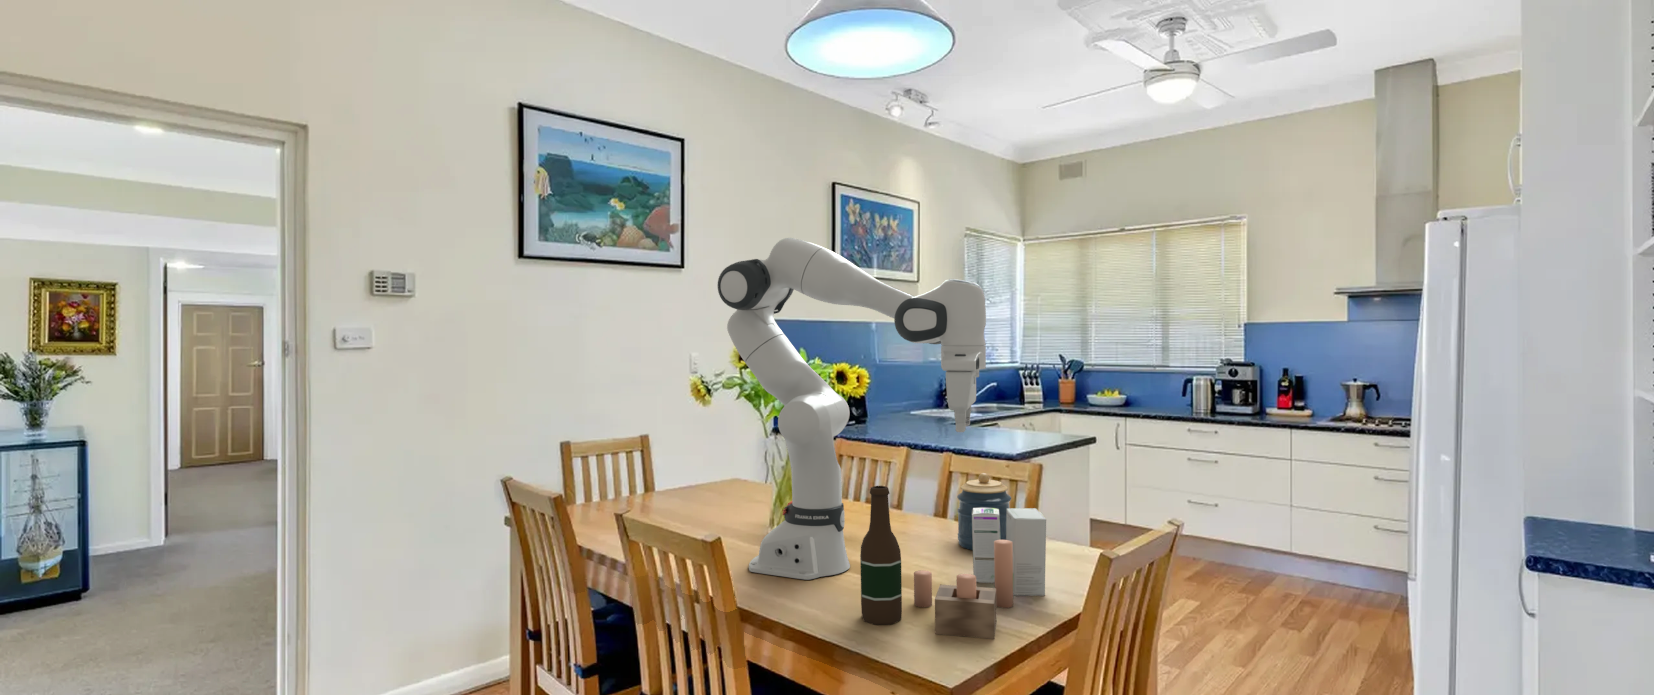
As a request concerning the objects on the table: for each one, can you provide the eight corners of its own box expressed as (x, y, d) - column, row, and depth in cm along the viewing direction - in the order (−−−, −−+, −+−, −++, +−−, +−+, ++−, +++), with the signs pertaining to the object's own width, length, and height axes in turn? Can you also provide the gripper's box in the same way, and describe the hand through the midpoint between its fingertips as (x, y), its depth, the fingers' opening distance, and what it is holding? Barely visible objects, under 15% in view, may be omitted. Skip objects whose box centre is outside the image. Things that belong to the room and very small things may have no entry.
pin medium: (956, 630, 133) (955, 579, 132) (958, 623, 136) (957, 573, 136) (976, 632, 132) (975, 580, 132) (977, 624, 135) (976, 574, 135)
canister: (978, 535, 195) (978, 466, 195) (1022, 545, 186) (1021, 472, 185) (946, 545, 186) (946, 473, 186) (991, 556, 177) (990, 480, 176)
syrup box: (1001, 583, 157) (1000, 513, 157) (972, 582, 158) (971, 512, 158) (1001, 575, 163) (1000, 507, 162) (972, 574, 164) (972, 506, 163)
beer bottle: (872, 629, 134) (870, 493, 134) (853, 614, 141) (851, 485, 141) (910, 621, 137) (908, 488, 137) (890, 607, 144) (888, 481, 144)
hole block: (935, 633, 131) (934, 599, 131) (940, 617, 139) (940, 584, 139) (994, 639, 129) (993, 603, 129) (996, 621, 136) (996, 588, 136)
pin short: (913, 606, 145) (912, 575, 144) (915, 600, 148) (915, 569, 148) (930, 608, 144) (930, 576, 144) (933, 601, 147) (932, 571, 147)
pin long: (994, 607, 144) (993, 544, 143) (995, 601, 147) (994, 539, 147) (1012, 608, 143) (1012, 545, 142) (1013, 602, 146) (1012, 540, 146)
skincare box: (1005, 582, 158) (1004, 507, 157) (1037, 582, 157) (1036, 507, 157) (1014, 596, 149) (1013, 517, 149) (1047, 596, 149) (1047, 517, 149)
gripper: (953, 358, 164) (953, 422, 164) (941, 361, 144) (940, 434, 144) (983, 358, 162) (982, 423, 162) (975, 362, 142) (974, 436, 143)
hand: (963, 428), depth 153 cm, fingers open, 8 cm apart
